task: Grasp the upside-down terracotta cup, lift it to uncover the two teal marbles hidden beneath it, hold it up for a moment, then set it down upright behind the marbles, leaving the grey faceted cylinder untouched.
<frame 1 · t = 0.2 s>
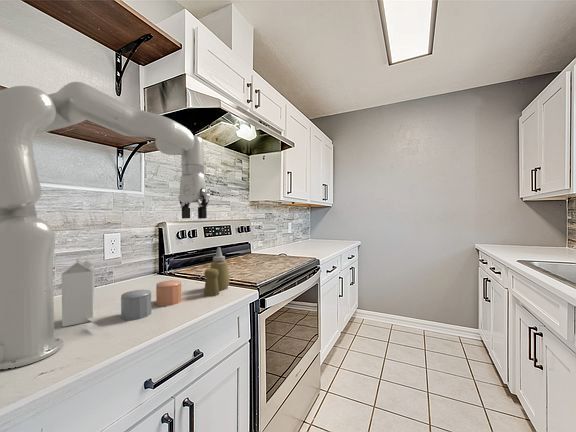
hand: (194, 218, 96), 30 cm above the worktop, tool pointing down, fingers open, 9 cm apart
squeeze bottle: (219, 292, 108), on the worktop
grey faceted cylinder: (136, 319, 80), on the worktop
milk carton: (79, 321, 80), on the worktop
marble b: (173, 300, 93), point 1 cm above the worktop
olive pepper shaker: (211, 298, 100), on the worktop
terracotta cup: (169, 306, 91), on the worktop
marble a: (164, 303, 90), point 1 cm above the worktop
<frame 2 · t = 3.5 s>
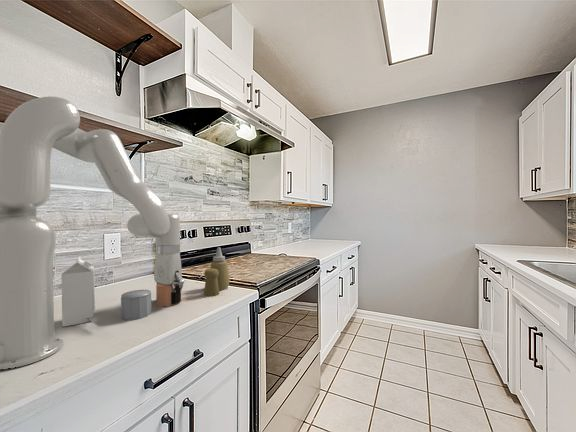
hand: (169, 300, 91), 2 cm above the worktop, tool pointing down, fingers closed on terracotta cup, 7 cm apart
terracotta cup: (169, 306, 91), on the worktop, touching gripper
everything else where it was.
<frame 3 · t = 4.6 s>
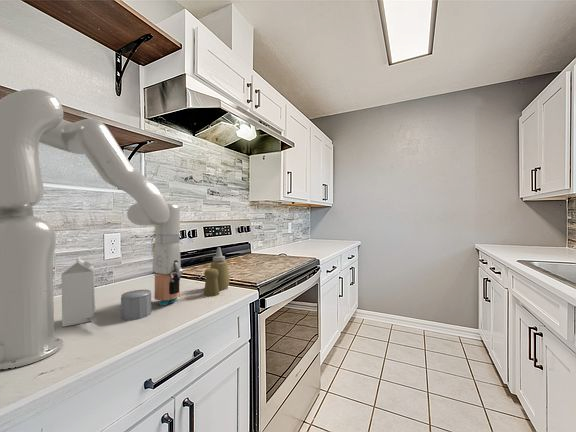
hand: (167, 291, 91), 5 cm above the worktop, tool pointing down, fingers closed on terracotta cup, 7 cm apart
marble b: (172, 300, 92), point 1 cm above the worktop, tilted 10°
terracotta cup: (167, 296, 91), point 3 cm above the worktop, touching gripper
everything else where it was.
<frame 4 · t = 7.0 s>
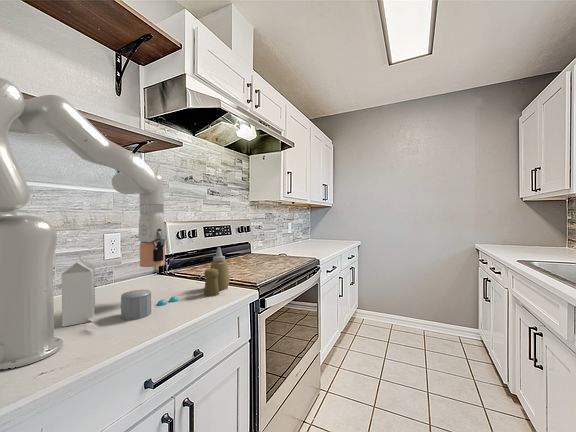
hand: (152, 259, 93), 16 cm above the worktop, tool pointing down, fingers closed on terracotta cup, 7 cm apart
marble b: (173, 300, 93), point 1 cm above the worktop
terracotta cup: (152, 265, 93), point 14 cm above the worktop, touching gripper
marble a: (162, 304, 89), point 1 cm above the worktop, tilted 34°
everything else where it was.
when the fingers open (3 cm above the worktop, at t = 10.8 s): terracotta cup drops 1 cm, on the worktop.
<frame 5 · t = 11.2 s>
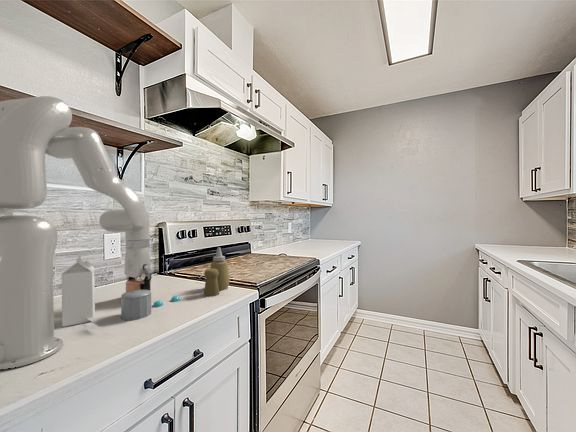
hand: (138, 292, 96), 4 cm above the worktop, tool pointing down, fingers open, 9 cm apart
marble b: (175, 300, 93), point 1 cm above the worktop, tilted 23°
terracotta cup: (138, 302, 96), on the worktop
marble a: (158, 305, 88), point 1 cm above the worktop, tilted 86°
everything else where it was.
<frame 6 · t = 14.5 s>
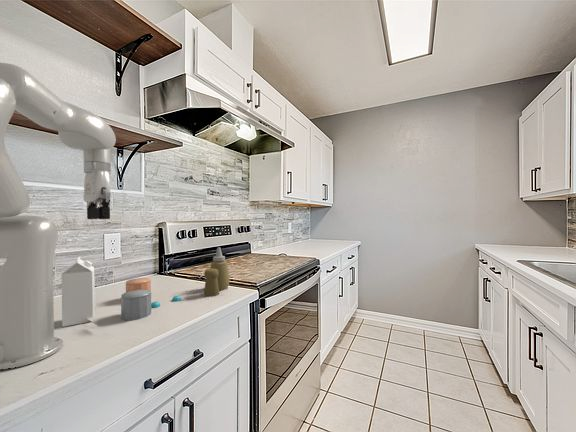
hand: (98, 219, 91), 30 cm above the worktop, tool pointing down, fingers open, 9 cm apart
marble b: (176, 300, 93), point 1 cm above the worktop, tilted 40°
marble a: (155, 306, 87), point 1 cm above the worktop, tilted 128°
everything else where it was.
at the end: terracotta cup inside the target area (0.1 cm from its centre), on the worktop; terracotta cup tilted 0°; the gripper is holding nothing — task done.
